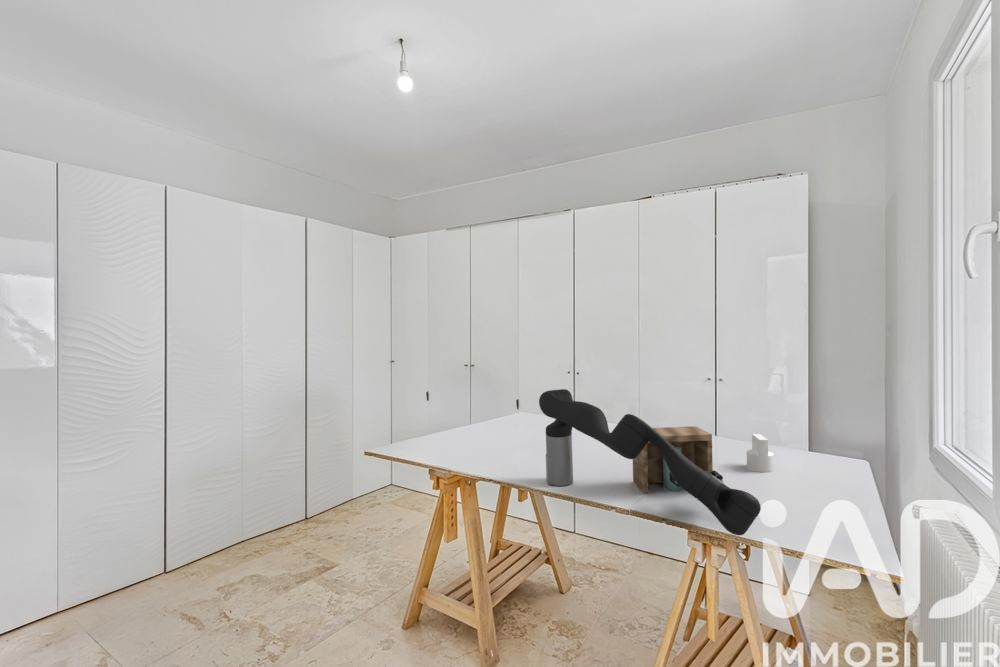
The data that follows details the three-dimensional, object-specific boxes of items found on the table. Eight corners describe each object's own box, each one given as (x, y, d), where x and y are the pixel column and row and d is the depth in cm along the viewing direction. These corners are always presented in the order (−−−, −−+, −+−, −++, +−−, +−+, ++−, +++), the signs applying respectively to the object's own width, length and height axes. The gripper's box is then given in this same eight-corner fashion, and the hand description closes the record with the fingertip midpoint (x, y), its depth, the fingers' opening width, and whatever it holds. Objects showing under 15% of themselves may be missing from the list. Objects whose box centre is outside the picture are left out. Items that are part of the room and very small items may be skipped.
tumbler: (677, 492, 160) (676, 450, 160) (660, 488, 164) (659, 447, 164) (685, 487, 165) (684, 446, 164) (668, 483, 169) (667, 443, 168)
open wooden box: (643, 494, 159) (642, 437, 159) (633, 482, 171) (631, 428, 171) (713, 491, 160) (711, 434, 159) (697, 479, 172) (696, 426, 171)
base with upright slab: (777, 472, 176) (777, 440, 175) (751, 472, 178) (750, 439, 177) (769, 465, 185) (768, 434, 184) (743, 464, 186) (743, 433, 186)
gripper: (734, 474, 136) (708, 458, 152) (683, 476, 136) (663, 459, 152) (734, 501, 136) (708, 481, 152) (684, 503, 136) (663, 483, 152)
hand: (686, 470), depth 152 cm, fingers open, 8 cm apart
